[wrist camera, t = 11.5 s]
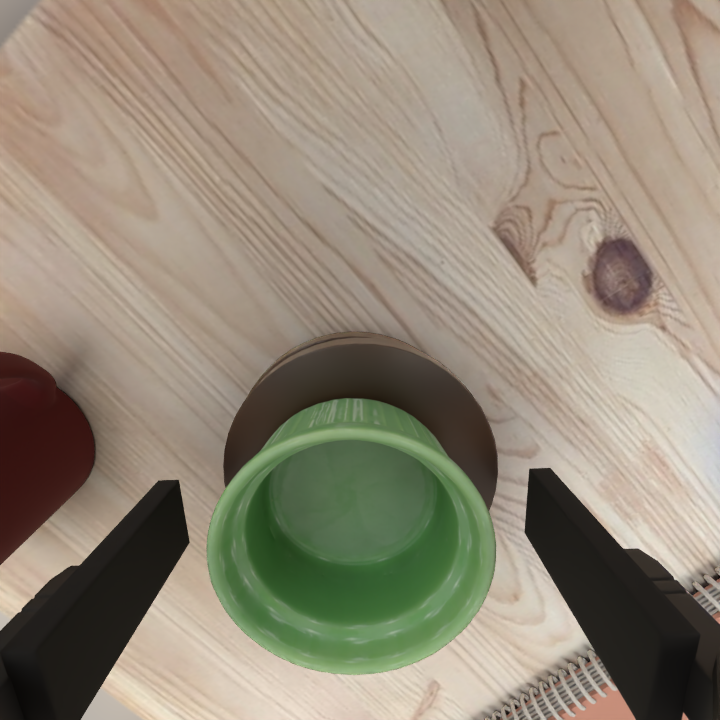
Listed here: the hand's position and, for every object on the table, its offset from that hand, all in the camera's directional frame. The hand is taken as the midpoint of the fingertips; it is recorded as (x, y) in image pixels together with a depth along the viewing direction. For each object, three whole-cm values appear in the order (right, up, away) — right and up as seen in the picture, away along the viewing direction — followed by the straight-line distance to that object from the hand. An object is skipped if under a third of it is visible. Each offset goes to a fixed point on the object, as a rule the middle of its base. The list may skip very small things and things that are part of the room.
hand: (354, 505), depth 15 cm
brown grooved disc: (0, +1, +5) cm, 6 cm away
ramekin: (0, 0, +2) cm, 2 cm away
